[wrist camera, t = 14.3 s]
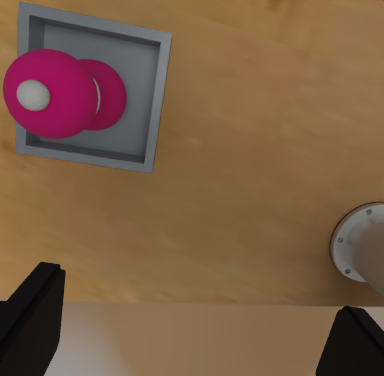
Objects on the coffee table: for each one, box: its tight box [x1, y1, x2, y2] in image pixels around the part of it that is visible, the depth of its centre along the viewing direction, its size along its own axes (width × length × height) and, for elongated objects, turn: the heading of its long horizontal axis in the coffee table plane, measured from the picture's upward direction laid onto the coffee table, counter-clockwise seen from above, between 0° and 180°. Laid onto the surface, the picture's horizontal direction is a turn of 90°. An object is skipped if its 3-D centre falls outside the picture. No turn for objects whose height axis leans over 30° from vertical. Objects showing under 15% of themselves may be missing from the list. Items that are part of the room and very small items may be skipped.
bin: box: [16, 2, 172, 174], centre depth 35 cm, size 15×15×5 cm
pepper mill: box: [3, 49, 127, 139], centre depth 27 cm, size 7×7×20 cm
